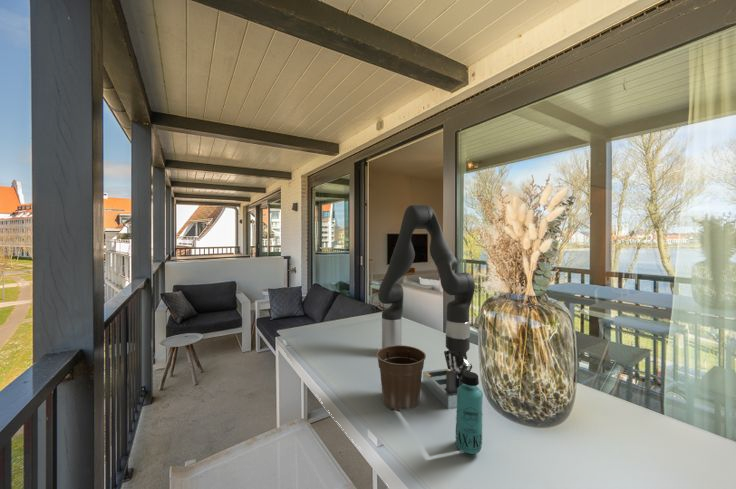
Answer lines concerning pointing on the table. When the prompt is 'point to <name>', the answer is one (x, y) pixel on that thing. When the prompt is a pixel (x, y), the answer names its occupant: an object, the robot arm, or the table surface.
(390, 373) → the plant pot
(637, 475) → the table surface
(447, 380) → the panel
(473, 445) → the beverage bottle
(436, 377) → the rack
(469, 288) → the robot arm
